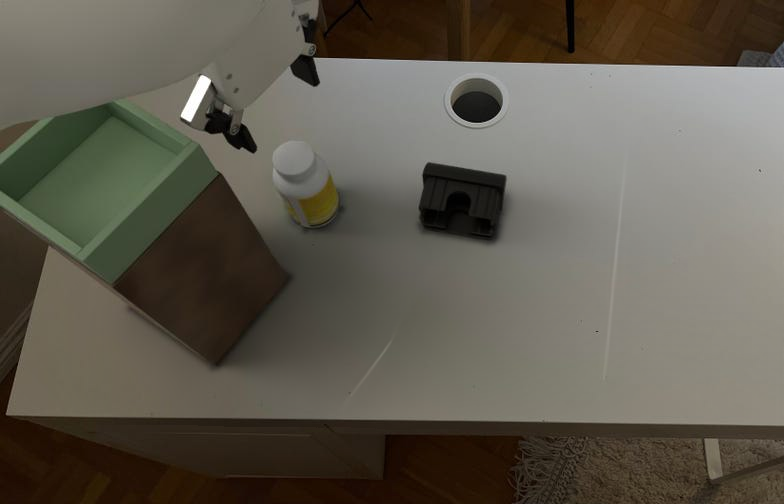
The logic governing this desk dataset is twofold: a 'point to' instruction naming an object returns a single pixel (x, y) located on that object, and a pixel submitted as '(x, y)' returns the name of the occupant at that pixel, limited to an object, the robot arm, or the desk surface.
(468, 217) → the end cap
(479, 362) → the desk surface
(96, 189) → the green storage bin
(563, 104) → the desk surface
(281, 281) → the stand
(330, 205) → the pill bottle
